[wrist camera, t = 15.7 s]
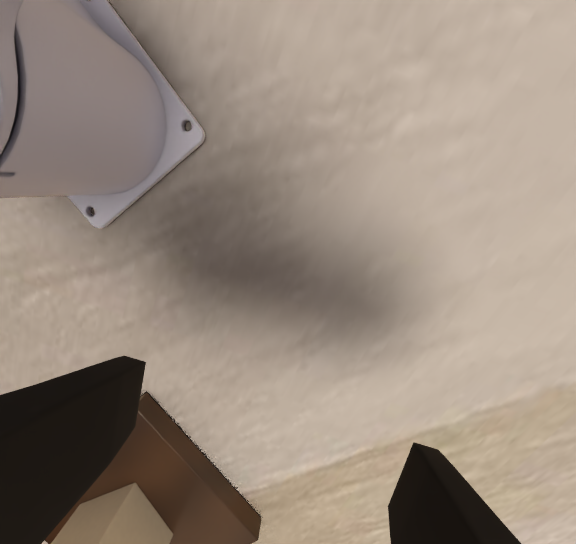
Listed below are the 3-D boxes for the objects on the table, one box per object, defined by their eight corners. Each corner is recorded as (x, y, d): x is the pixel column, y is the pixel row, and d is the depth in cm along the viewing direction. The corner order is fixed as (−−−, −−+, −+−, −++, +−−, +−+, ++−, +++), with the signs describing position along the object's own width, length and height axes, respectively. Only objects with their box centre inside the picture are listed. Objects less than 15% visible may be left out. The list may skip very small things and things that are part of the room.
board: (18, 479, 24) (-1, 498, 22) (147, 391, 21) (134, 406, 19) (130, 586, 25) (119, 610, 24) (261, 518, 23) (258, 540, 21)
